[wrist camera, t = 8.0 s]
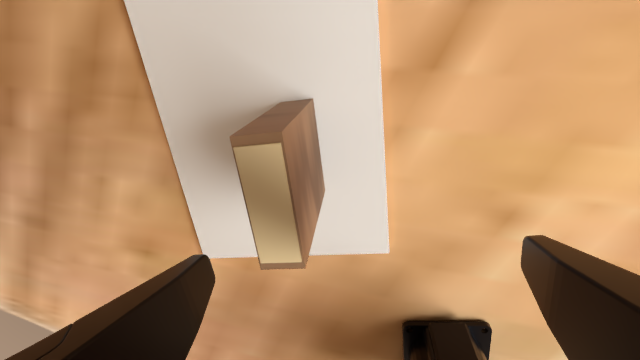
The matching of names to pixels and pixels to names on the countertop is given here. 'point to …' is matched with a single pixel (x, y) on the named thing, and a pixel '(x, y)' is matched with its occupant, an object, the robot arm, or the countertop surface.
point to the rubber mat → (269, 107)
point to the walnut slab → (281, 182)
